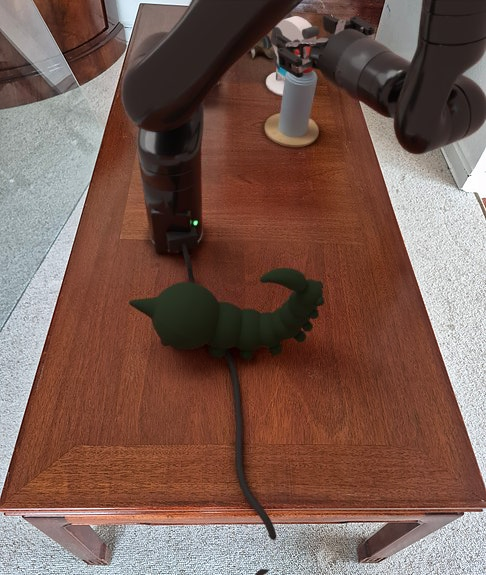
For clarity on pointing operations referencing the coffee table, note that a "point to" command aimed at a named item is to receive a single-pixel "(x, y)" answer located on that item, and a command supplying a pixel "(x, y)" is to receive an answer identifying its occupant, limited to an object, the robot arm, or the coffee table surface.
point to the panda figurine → (295, 32)
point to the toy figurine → (232, 316)
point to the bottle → (297, 104)
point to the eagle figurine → (264, 47)
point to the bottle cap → (308, 57)
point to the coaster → (284, 140)
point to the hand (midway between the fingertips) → (302, 31)
